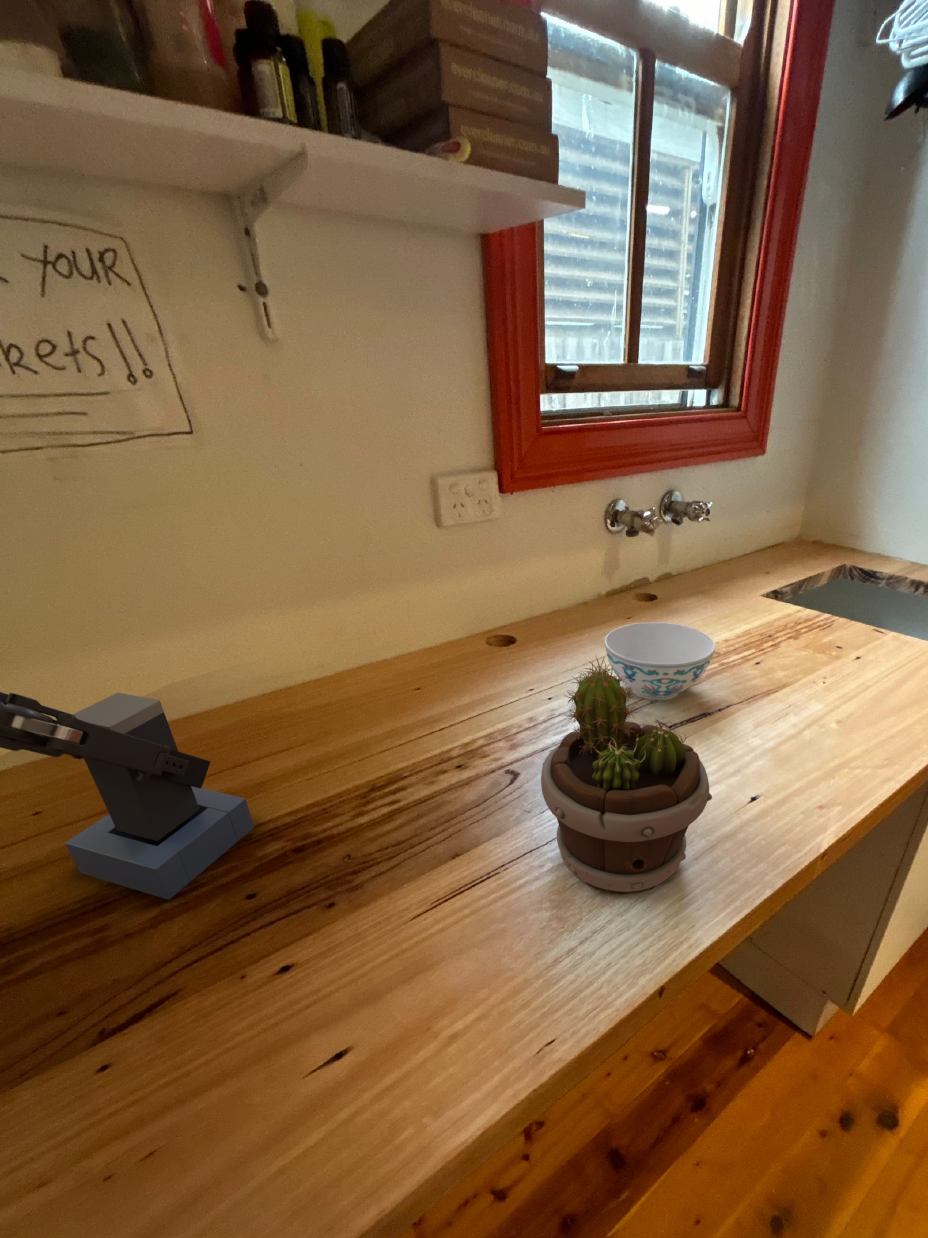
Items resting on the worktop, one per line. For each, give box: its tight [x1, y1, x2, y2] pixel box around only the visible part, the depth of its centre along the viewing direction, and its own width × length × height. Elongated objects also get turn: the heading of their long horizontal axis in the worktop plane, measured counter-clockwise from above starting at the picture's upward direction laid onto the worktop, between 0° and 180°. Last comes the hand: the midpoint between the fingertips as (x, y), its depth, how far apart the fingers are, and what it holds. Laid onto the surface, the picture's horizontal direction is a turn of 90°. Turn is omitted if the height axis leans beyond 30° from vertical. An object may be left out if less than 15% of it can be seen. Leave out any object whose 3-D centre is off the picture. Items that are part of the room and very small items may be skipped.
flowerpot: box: [540, 654, 713, 895], centre depth 56 cm, size 14×15×20 cm
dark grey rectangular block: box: [73, 692, 200, 842], centre depth 58 cm, size 5×5×12 cm
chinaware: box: [604, 621, 716, 701], centre depth 90 cm, size 15×15×8 cm
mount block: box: [64, 786, 255, 900], centre depth 62 cm, size 11×11×4 cm
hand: (179, 768), depth 62 cm, fingers closed on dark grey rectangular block, 5 cm apart
